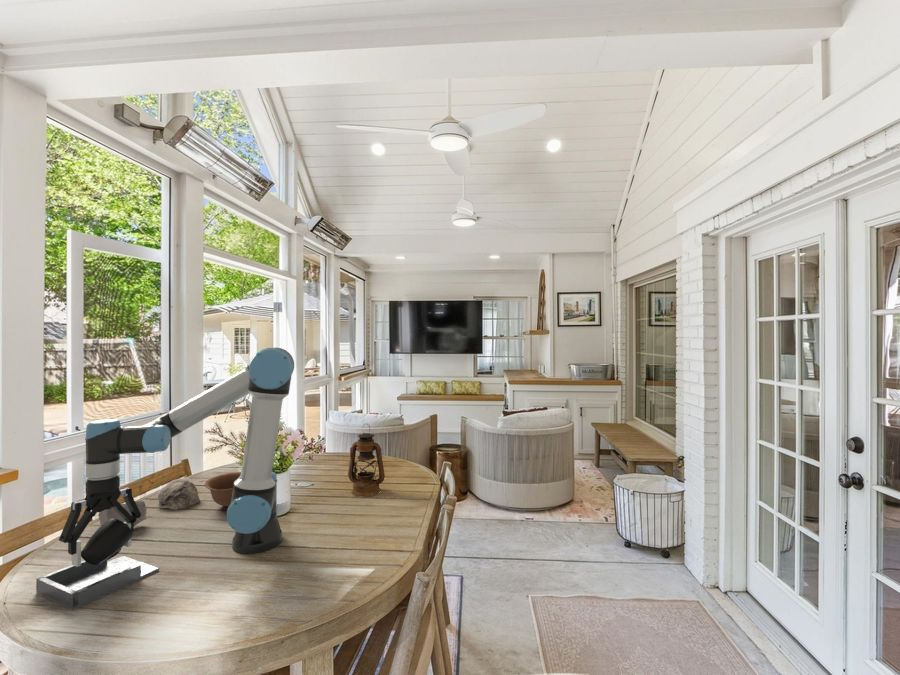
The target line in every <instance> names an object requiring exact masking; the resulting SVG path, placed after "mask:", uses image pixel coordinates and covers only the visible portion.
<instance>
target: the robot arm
mask: <svg viewBox="0 0 900 675" xmlns="http://www.w3.org/2000/svg"><path fill="white" fill-rule="evenodd" d="M294 370H295V360H294V357H293V356H292V355H291V354H290V352H288V350H286V349H284V348H282V347H267V348H263V349H260V351H257V352H256V353H255V354H254V355H253V357H252V358H251V360H250V362H249V363H247V364H245V367H244V369H243V370H241V371H240V372H237V373H236V374H233V375H232V376H230V377H228V378H227V379H225V380H224V381H222V382H220V383H218V384H216V385H213V386H212V387H210V388H209V389H207V390H205V391H203V392H201V393H200V394H198V395H196V396H194V397H193V398H190V399H189V400H188V401H185V402H184V403H182V404H179V405H178V406H176V407H175V408H173V409H171V410H169V411H167V412H165V413H164V414H162V415H160V416H158V417H157V418H154V419H153V420H151V421H149V422H146V423H145V424H142V425H134V426H133V425H132V426H122V424H121V421H120V420H119V419H117V418H116V419H113V418H107V419H97V420H93V421H90V422H88V424H87V425H86V429H85V439H84V440H85V478H87V479H86V480H85V498H84V499H83V500H79V501H75V500H74V501H72V502H71V503H70V512H69V514H68V517H67V519H66V521H65V524H64V526H63V528H62V531H61V533H60V536H59V539H58V541H59V542H61V543H64V544H67V545H68V546H67V554H69V555H71V565H74V566H77V567H78V566H81V561H82V557H81V551H82V541H81V540H79V539H80V537H81V536H82V534H83V532H84V531H85V529H86V528H87V526H88V525H89V523H90V521H91V520H92V519H93V517H95V516H96V515H97V514H98V513H99V512H102V511H103V510H108V509H111V508H113V509H114V510H115V511H116V512H117V513H118V514H119V515H120V516H122V517H123V518H124V519H125V520H126V522H124V523H125V524H127V525H128V526H129V527H130V529H131V530H132V533H133V534H134V530H135V528H134V527H135V526H134V523H135V522H136V519H137V518H140V517H141V513H140V511H139V509H138V507H137V505H136V503H135V501H136V500H135V499H134V496H133V490H132V488H131V487H130V488H129V487H128V486H127V487H125V486H124V487H123V488H122V489H120V486H121V476H120V475H119V474H120V473H121V455H126V454H127V455H128V454H146V453H149V454H153V453H158V452H164V451H166V450H168V448H169V445H170V444H171V439H173V438H174V437H175V436H177V435H179V434H181V433H182V432H184V431H186V430H188V429H189V428H192V427H193V426H194V425H196V424H197V425H198V423H200V422H202V421H204V420H206V419H207V418H209V417H211V416H212V415H215V414H216V413H217V412H219V411H221V410H223V409H225V408H227V407H228V406H230V405H232V404H233V403H235V402H237V401H239V400H241V399H242V398H244V397H246V396H247V395H250V396H251V398H252V399H251V404H250V405H251V406H250V411H249V418H248V423H247V424H248V425H247V430H246V437H245V438H246V439H245V444H244V451H243V458H242V465H241V471H240V472H241V475H240V476H239V478H238V479H237V480H236V481H234V486H233V492H232V498H231V504H230V505H229V508H228V509H227V510H226V521H227V524H228V525H229V527H230V528H231V529H232V530H234V531H235V532H234V536H233V537H232V541H231V543H232V544H231V545H232V546H231V547H232V550H233V551H234V552H236V553H239V554H247V555H248V554H257V553H258V554H259V553H262V552H266V551H268V550H271V549H274V548H276V547H278V546H279V545H280V544H281V543H282V541H283V531H282V529H281V525H280V522H279V520H278V516H277V512H278V511H277V509H278V508H277V505H278V504H277V492H278V490H277V486H278V484H277V483H278V479H277V474H276V472H275V471H273V468H274V462H275V461H274V460H275V453H276V448H277V447H276V446H277V442H278V441H277V440H278V433H279V428H280V427H279V426H280V422H281V421H280V420H281V413H282V408H283V402H284V398H286V397H287V396H288V395H289V393H290V388H291V383H292V382H291V381H292V375H293V374H294ZM120 496H121V497H122V498H123V500H124V502H125V503H126V504H127V506H128V508H129V510H130V513H131V515H130V514H129V513H128V512H127V511H126V510H125V509H124V508H123V507H122V506H121V504H122V503H120V502H119V501H118V500H119V498H120ZM84 506H86V508H84ZM83 509H85V510H84V511H83V515H82V516H81V512H82V510H83ZM80 516H81V517H80ZM79 518H80V519H79ZM131 546H132V538H131V539H130V540H129V541H128V542H127V543H126V544H125V545H124V546H123V547H126V548H130V547H131Z"/></svg>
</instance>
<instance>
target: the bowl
mask: <svg viewBox="0 0 900 675" xmlns="http://www.w3.org/2000/svg"><path fill="white" fill-rule="evenodd" d="M240 475H241V471H240V472H239V471H238V472H229V473H228V472H227V473H223V474H219V475H216V476H213V477H210V478H209V479H207V480H205V481H204V485H203V486H204V487H205V488H206V489H207V490H209V491H210V494H211V498H212V500H213V502H214V503H216V504H217V505H218V506H222V509H223V510H226V511H227V509H228V508H229V505H230V504H231V498H232V492H233V486H234V481H236V480H237V479H238V478H239V476H240Z"/></svg>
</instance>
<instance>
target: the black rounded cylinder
mask: <svg viewBox="0 0 900 675" xmlns="http://www.w3.org/2000/svg"><path fill="white" fill-rule="evenodd" d="M133 534H134V532H133V533H132V530H131V529H130V527H129V526H128V525H127V524H125V523H124V522H122V521H120V520H117V519H109V520H107V521H106V522H105V523H104V524H103V525H102V526H101V525H99V527H98V528H97V529H96V530H95V531H94V533H93V534H91V537H90V538H89V539H88V541H87V542H86V544H85V546H84V547H83V548H82V549H81V559H82V560H85V561H86V562H87V563H89V564H92V565H98V564H101V563H103V562H105V561H107V562H108V561H110V560H111V559H112V558H114V557H115V556H117V555H118V554H119V553H120V552H121V550H122V548H123V547H125V546H124V545H125V544H126V543H127V542H128V541H129V540H130V539H131V540H132V538H133Z"/></svg>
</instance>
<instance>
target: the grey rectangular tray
mask: <svg viewBox="0 0 900 675" xmlns="http://www.w3.org/2000/svg"><path fill="white" fill-rule="evenodd" d="M159 571H160V567H157V566H156V565H155V566H154V565H152V564H148V563H146V562H142V561H139V560H137V559H133V558H132V557H128V556H124V555H122V556H118V557H117V558H115V559H112V560H111V559H110V560H107V561H105V562H103V563H101V564H98V565H92V564H89V563H87V562H86V561H85V560H84V559H82V560H81V566H78V567H77V566H74V565H72V564H71V565H68V566H65V567H63V568H61V569H58V570H55V571H52V572H50V573H48V574H45V575H42V576H40V577H37V578H36V581H35V583H36V584H35V586H36V591H35V592H36V593H35V594H37V595H38V596H40V597H42V598H45V599H47V600H49V601H51V602H53V603H55V604H58V605H60V606H61V607H64V608H66V609H68V610H70V611H72V612H73V611H76V610H78V609H80V608H82V607H83V606H86V605H88V604H91V603H92V602H95V601H97V600H99V599H101V598H103V597H105V596H108V595H110V594H112V593H115V592H116V591H119V590H121V589H123V588H125V587H127V586H129V585H131V584H134V583H135V582H138V581H139V580H142V579H144V578H146V577H149V576H150V575H153V574H156V573H157V572H159Z"/></svg>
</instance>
